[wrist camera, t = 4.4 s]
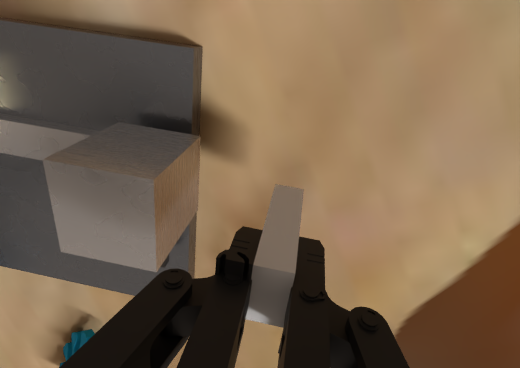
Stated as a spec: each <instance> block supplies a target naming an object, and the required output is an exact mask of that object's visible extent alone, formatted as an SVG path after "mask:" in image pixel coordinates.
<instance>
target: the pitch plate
mask: <svg viewBox="0 0 520 368" xmlns="http://www.w3.org/2000/svg"><path fill="white" fill-rule="evenodd" d="M201 73H202V47H201V46H195V45H188V44H181V43H174V42H167V41H160V40H153V39H146V38H139V37H132V36H125V35H118V34H111V33H105V32H98V31H91V30H84V29H77V28H70V27H63V26H56V25H49V24H42V23H35V22H28V21H21V20H14V19H8V18H1V17H0V266H3V267H8V268H12V269H17V270H21V271H26V272H30V273H35V274H39V275H44V276H48V277H53V278H57V279H62V280H66V281H71V282H75V283H80V284H84V285H89V286H93V287H98V288H102V289H107V290H111V291H116V292H120V293H125V294H129V295H134V296H136V295H137V294H138V293H139V292H140V291H141V290H142V289H143V288H144V287H145V286H146V285H148V284H149V283H150V282H151V281H152V280H153V279H154V278H155V277H156V276H157V275H158V274H160V273H161V272H163V271H165V270H168V269H176V268H178V269H182V270H185V271H187V272H188V273H190V275H191V277H192V279H194V270H195V242H196V214H197V212H196V213H195V215H194V217H193V218H192V220H191V221H190V223H189V224H188V226H187V227H186V229H185V230H184V232H183V233H182V235H181V236H180V238H179V239H178V241H177V242H176V244H175V245H174V247H173V248H172V250H171V251H170V253H169V262H168V264H167V265H166V267H165V268H162V267H160V268H159V270H158V271H157V272H153V271H148V270H143V269H139V268H134V267H129V266H125V265H120V264H115V263H111V262H106V261H101V260H97V259H92V258H87V257H83V256H78V255H73V254H69V253H64V252H61V250H60V245H59V240H58V235H57V230H56V225H55V220H54V215H53V210H52V205H51V200H50V195H49V190H48V185H47V180H46V175H45V169H44V164H43V159H44V158H46V157H48V156H50V155H52V154H54V153H56V152H59V151H61V150H63V149H65V148H67V147H69V146H71V145H73V144H75V143H77V142H79V141H81V140H83V139H85V138H87V137H89V136H91V135H93V134H96V133H98V132H100V131H102V130H104V129H106V128H108V127H110V126H112V125H114V124H116V123H118V122H121V123H127V124H133V125H139V126H145V127H151V128H157V129H162V130H168V131H174V132H180V133H186V134H192V135H198V136H199V130H200V101H201Z"/></svg>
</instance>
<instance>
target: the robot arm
mask: <svg viewBox="0 0 520 368" xmlns="http://www.w3.org/2000/svg"><path fill="white" fill-rule="evenodd" d="M303 192H304V189H300V188H294V187H289V186H283V185H278V184H276V185H275V188H274V192H273V195H272V199H271V203H270V206H269V210H268V213H267V217H266V221H265V224H264V228H263V230H259V229H254V228H249V227H244V226H243V227H242V228H241V229H239V230H238V231H237V232H236V234H235V236H234V239H233V241H232V244H231V246H230V249H229V250H225V251H223V252H221V253H219V255H218V256H217V257H216V271H215V275H213V276H211V277H208V278H198V279H192V277H191V275H190V273H188V272H187V271H185V270H182V269H178V268H176V269H168V270H165V271H163V272H161V273H160V274H158V275H157V276H156V277H155V278H154V279H153V280H152V281H151V282H150V283H149V284H148V285H146V286H145V287H144V288H143V289H142V290H141V291H140V292H139V293H138V294H137V295H136V296H135V297H134V298H133V299H132V300H131V301H129V302H128V303H127V304H126V305H125V306H124V307H123V308H122V309H121V310H120V311H119V312H118V313H117V314H116V315H115V316H114V317H112V318H111V319H110V320H109V321H108V322H107V323H106V324H105V325H104V326H103V327H102V328H101V329H100V330H99V331H98V332H96V333H95V334H94V335H93V336H92V337H91V338H90V339H89V340H88V341H87V342H86V343H85V344H84V345H83V346H82V347H81V348H79V349H78V350H77V351H76V352H75V353H74V354H73V355H72V356H71V357H70V358H69V359H68V360H67V361H66V362H65V363H64V364H62V365H61V366H60V367H59V368H167V367H168V366H169V364H170V363H171V361H172V360H173V359H174V357H175V356H176V355H177V353H178V352H179V351H180V349H181V348H182V347H183V345H184V344H185V343H186V341H187V340H188V342H187V344H186V346H185V349H184V351H183V354H182V356H181V359H180V361H179V363H178V366H177V368H234V367H235V363H236V359H237V355H238V351H239V347H240V343H241V339H242V335H243V330H244V323H245V319H247V320H252V321H256V322H261V323H265V324H270V325H274V326H279V327H283V333H282V338H281V343H280V347H279V352H278V353H279V360H278V368H330V367H331V368H409V366H408V364H407V362H406V360H405V358H404V356H403V354H402V352H401V350H400V348H399V346H398V344H397V341H396V339H395V337H394V335H393V333H392V331H391V329H390V327H389V325H388V323H387V322H386V320H385V319H384V318H383V316H381V315H380V314H379V313H378V312H377V311H374V310H372V309H370V308H367V307H355V308H354V309H352V310H351V311H348V310H346V309H344V308H342V307H340V306H338V305H336V304H335V303H334V302H333V301H331V299H330V298H329V297H328V295H327V292H326V290H325V265H324V263H325V259H324V247H323V245H322V244H321V242H320V241H319V240H314V239H309V238H304V237H299V232H300V222H301V212H302V202H303ZM189 336H190V337H189ZM188 338H189V339H188Z"/></svg>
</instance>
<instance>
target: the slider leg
mask: <svg viewBox="0 0 520 368" xmlns="http://www.w3.org/2000/svg"><path fill="white" fill-rule="evenodd" d="M200 141H201V136H198V135H192V134H186V133H180V132H174V131H168V130H162V129H157V128H151V127H145V126H139V125H133V124H127V123H121V122H118V123H116V124H114V125H112V126H110V127H108V128H106V129H104V130H102V131H100V132H98V133H96V134H93V135H91V136H89V137H87V138H85V139H83V140H81V141H79V142H77V143H75V144H73V145H71V146H69V147H67V148H65V149H63V150H61V151H59V152H56V153H54V154H52V155H50V156H48V157H46V158H44V159H43V164H44V169H45V175H46V180H47V185H48V190H49V195H50V200H51V205H52V210H53V215H54V220H55V225H56V230H57V235H58V240H59V245H60V250H61V252H64V253H69V254H73V255H78V256H83V257H87V258H92V259H97V260H101V261H106V262H111V263H115V264H120V265H125V266H129V267H134V268H139V269H143V270H148V271H153V272H157V271H158V270H159V268H160V267H162V268H165V267H166V265H167V264H168V262H169V253H170V251H171V250H172V248H173V247H174V245H175V244H176V242H177V241H178V239H179V238H180V236H181V235H182V233H183V232H184V230H185V229H186V227H187V226H188V224H189V223H190V221H191V220H192V218H193V217H194V215H195V213H196V212H197V210H198V194H199V168H200Z"/></svg>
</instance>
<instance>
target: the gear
mask: <svg viewBox="0 0 520 368" xmlns="http://www.w3.org/2000/svg"><path fill="white" fill-rule="evenodd" d="M94 334H95V333H94V332H93V330H92V329H90V330H85V331H79V332H73V333H72V336H71V340H72V342H70V343H66V344H65V346H64V348H63V352H64V355H65V358H66V361H67V360H68V359H69V358H70V357H71V356H72V355H73V354H74V353H75V352H76V351H77V350H78V349H79V348H81V347H82V346H83V345H84V344H85V343H86V342H87V341H88V340H89V339H90V338H91V337H92V336H93V335H94ZM64 363H65V362H62V363H60V366H61V365H62V364H64ZM60 366H59V367H60Z"/></svg>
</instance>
